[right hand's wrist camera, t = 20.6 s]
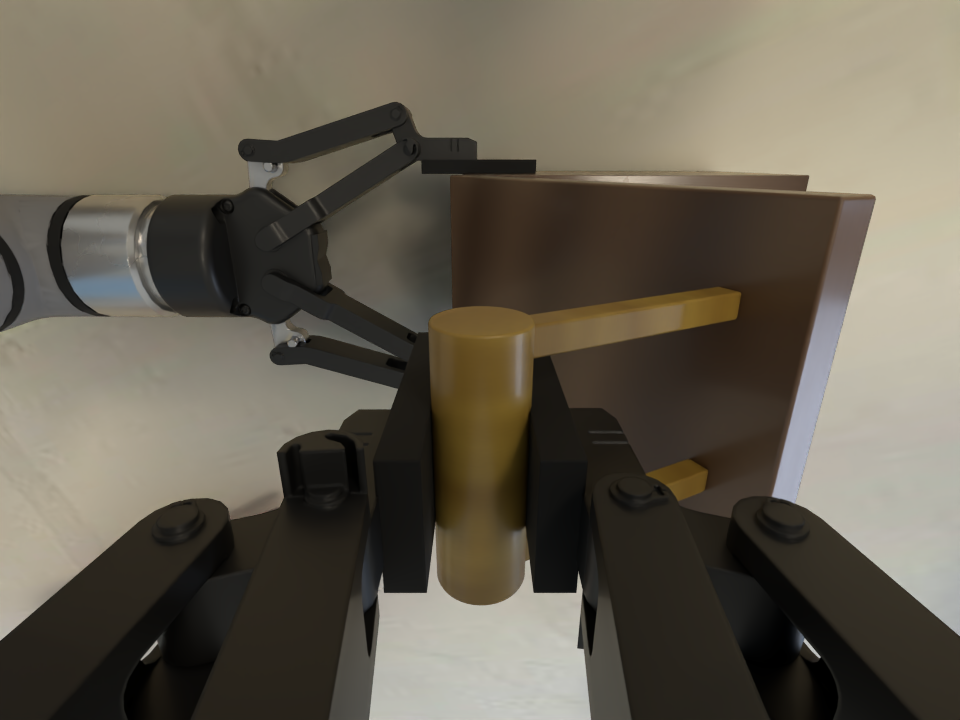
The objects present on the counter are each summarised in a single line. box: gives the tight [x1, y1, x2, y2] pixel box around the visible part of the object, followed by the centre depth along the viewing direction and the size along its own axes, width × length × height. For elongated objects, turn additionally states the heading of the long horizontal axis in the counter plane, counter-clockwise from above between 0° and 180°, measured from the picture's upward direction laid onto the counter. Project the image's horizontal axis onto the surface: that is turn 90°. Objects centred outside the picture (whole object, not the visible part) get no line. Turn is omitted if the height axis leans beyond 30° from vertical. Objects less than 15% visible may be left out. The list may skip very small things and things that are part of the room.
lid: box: [428, 175, 876, 605], centre depth 18 cm, size 18×10×9 cm
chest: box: [463, 171, 809, 191], centre depth 33 cm, size 18×10×11 cm, turn 90°
